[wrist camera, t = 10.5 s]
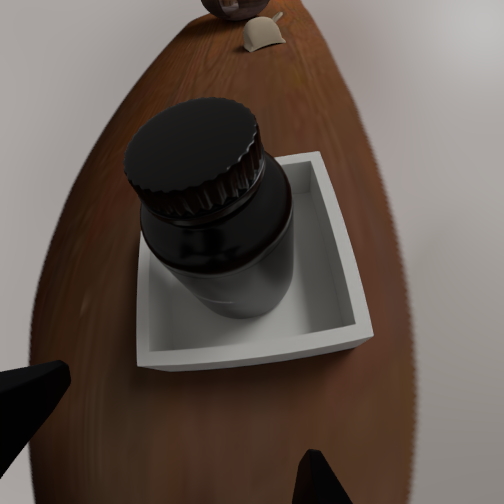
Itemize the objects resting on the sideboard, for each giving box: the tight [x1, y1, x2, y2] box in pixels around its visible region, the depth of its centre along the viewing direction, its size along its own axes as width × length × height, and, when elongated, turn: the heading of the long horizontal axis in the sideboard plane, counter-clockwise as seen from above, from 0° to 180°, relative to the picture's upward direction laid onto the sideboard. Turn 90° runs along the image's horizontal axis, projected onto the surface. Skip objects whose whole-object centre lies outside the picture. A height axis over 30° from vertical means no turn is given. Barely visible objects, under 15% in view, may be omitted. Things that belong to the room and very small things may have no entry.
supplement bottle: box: [123, 97, 294, 319], centre depth 14 cm, size 7×7×12 cm
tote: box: [136, 151, 374, 372], centre depth 18 cm, size 13×13×4 cm
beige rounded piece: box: [243, 12, 286, 52], centre depth 35 cm, size 4×8×5 cm, turn 117°
